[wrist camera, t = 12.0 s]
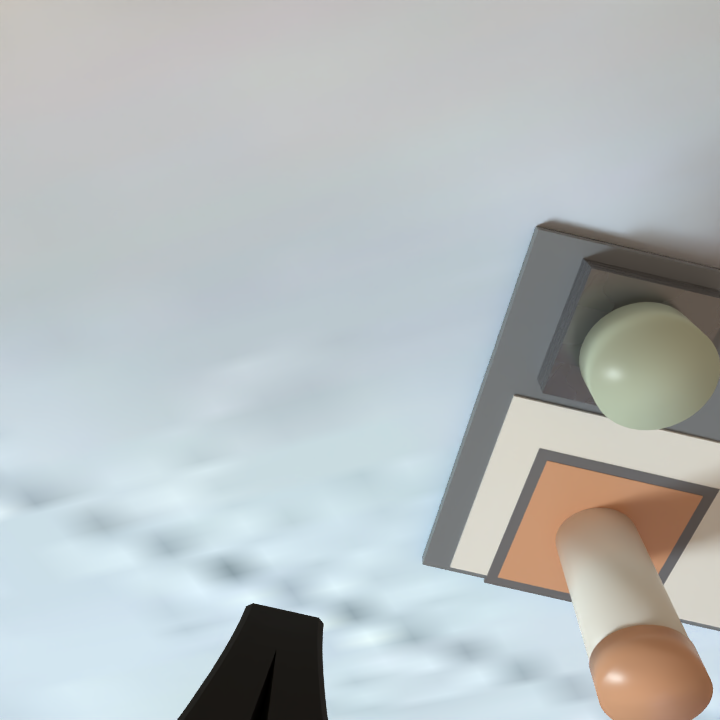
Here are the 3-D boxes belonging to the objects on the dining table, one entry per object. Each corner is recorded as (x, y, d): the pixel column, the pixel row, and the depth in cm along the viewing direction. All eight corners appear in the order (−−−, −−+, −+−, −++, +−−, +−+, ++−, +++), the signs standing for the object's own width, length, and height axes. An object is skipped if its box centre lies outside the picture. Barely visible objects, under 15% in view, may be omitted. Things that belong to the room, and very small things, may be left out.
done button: (700, 301, 18) (743, 337, 16) (654, 395, 19) (686, 441, 17) (593, 276, 18) (619, 308, 15) (554, 372, 19) (573, 415, 17)
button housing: (717, 289, 18) (733, 301, 17) (659, 406, 20) (670, 422, 19) (583, 258, 18) (591, 268, 17) (536, 378, 20) (542, 393, 19)
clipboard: (1031, 342, 18) (1048, 349, 18) (799, 643, 24) (807, 655, 23) (535, 226, 18) (539, 230, 17) (421, 558, 24) (421, 568, 23)
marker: (650, 513, 21) (730, 666, 16) (623, 576, 23) (689, 737, 17) (566, 500, 21) (618, 647, 16) (544, 563, 23) (585, 719, 17)
